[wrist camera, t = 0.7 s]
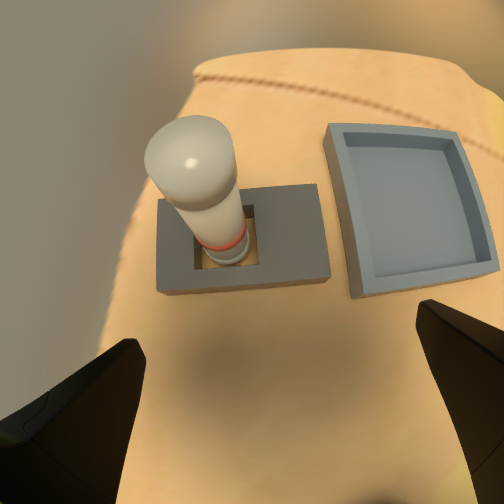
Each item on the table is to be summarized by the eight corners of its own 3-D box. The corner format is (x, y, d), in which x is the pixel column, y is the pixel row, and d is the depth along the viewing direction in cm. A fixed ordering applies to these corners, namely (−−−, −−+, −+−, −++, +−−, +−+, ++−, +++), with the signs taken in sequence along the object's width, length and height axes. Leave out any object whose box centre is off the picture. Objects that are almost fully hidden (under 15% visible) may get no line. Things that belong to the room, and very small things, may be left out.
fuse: (252, 265, 22) (235, 183, 10) (208, 269, 22) (140, 195, 10) (248, 223, 23) (230, 110, 11) (206, 227, 23) (149, 123, 11)
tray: (480, 276, 21) (500, 270, 18) (351, 299, 21) (364, 294, 18) (443, 147, 24) (456, 132, 22) (322, 143, 25) (328, 123, 22)
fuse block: (324, 282, 22) (331, 276, 19) (167, 295, 22) (156, 291, 19) (311, 197, 23) (316, 183, 21) (167, 211, 24) (158, 199, 21)
